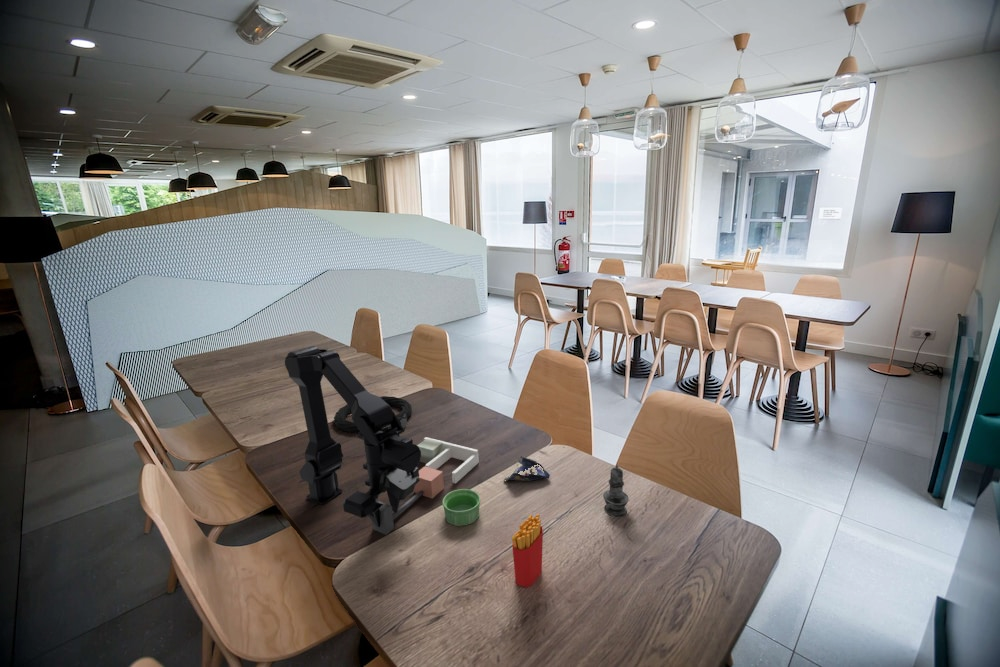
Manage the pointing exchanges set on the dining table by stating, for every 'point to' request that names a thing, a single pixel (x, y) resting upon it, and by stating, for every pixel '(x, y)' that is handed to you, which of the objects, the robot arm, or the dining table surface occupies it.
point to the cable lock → (402, 417)
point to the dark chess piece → (616, 494)
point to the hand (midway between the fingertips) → (386, 518)
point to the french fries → (528, 551)
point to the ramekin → (461, 506)
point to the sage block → (430, 450)
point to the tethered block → (426, 486)
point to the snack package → (525, 465)
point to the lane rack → (459, 453)
